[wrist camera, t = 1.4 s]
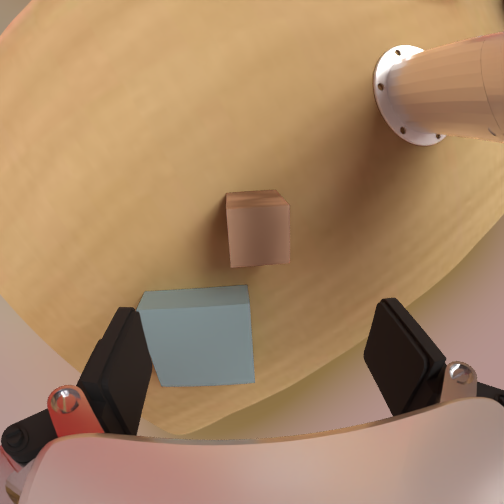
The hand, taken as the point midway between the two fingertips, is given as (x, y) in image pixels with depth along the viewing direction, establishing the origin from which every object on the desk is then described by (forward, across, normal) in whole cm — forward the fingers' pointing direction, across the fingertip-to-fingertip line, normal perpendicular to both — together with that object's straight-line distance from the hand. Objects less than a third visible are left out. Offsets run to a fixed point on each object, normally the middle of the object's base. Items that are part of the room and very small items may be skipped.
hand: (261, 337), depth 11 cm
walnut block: (+21, -1, +1) cm, 21 cm away
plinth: (+20, +5, +15) cm, 26 cm away
